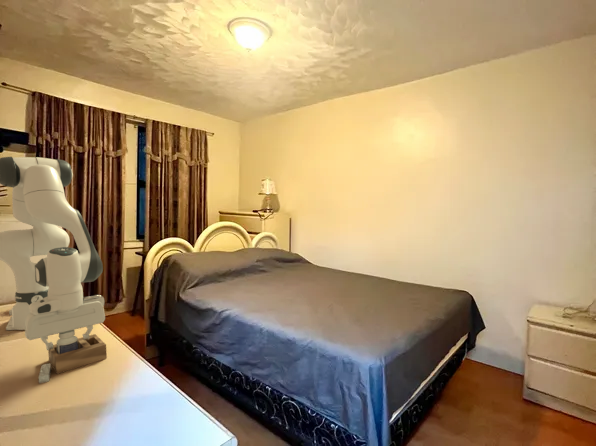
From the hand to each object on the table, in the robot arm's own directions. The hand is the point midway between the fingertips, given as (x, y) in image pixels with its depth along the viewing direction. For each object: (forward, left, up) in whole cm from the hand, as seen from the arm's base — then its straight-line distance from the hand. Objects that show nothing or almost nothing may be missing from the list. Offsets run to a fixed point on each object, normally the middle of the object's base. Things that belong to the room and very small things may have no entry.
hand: (68, 344), depth 102 cm
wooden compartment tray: (0, +2, -6) cm, 6 cm away
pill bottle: (0, 0, -6) cm, 6 cm away
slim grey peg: (+5, -7, -6) cm, 10 cm away
